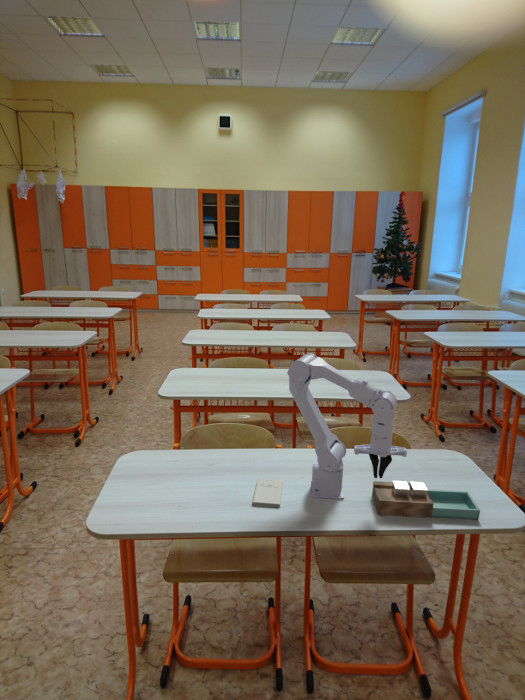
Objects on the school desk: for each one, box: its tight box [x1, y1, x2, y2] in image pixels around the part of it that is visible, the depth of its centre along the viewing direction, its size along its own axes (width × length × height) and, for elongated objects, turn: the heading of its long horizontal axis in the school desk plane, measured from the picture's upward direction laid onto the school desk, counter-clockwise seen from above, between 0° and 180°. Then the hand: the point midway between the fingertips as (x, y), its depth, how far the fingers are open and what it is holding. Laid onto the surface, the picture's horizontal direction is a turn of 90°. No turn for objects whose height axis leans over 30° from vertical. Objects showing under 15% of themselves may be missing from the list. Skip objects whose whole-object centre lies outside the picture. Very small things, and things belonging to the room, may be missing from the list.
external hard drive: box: [252, 479, 284, 508], centre depth 135 cm, size 2×8×12 cm
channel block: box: [371, 480, 433, 519], centre depth 130 cm, size 15×10×5 cm, turn 86°
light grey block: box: [409, 481, 429, 499], centre depth 129 cm, size 4×4×3 cm
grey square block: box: [392, 480, 410, 498], centre depth 129 cm, size 4×4×3 cm
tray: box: [427, 489, 481, 520], centre depth 129 cm, size 13×9×3 cm
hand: (377, 476), depth 129 cm, fingers closed
